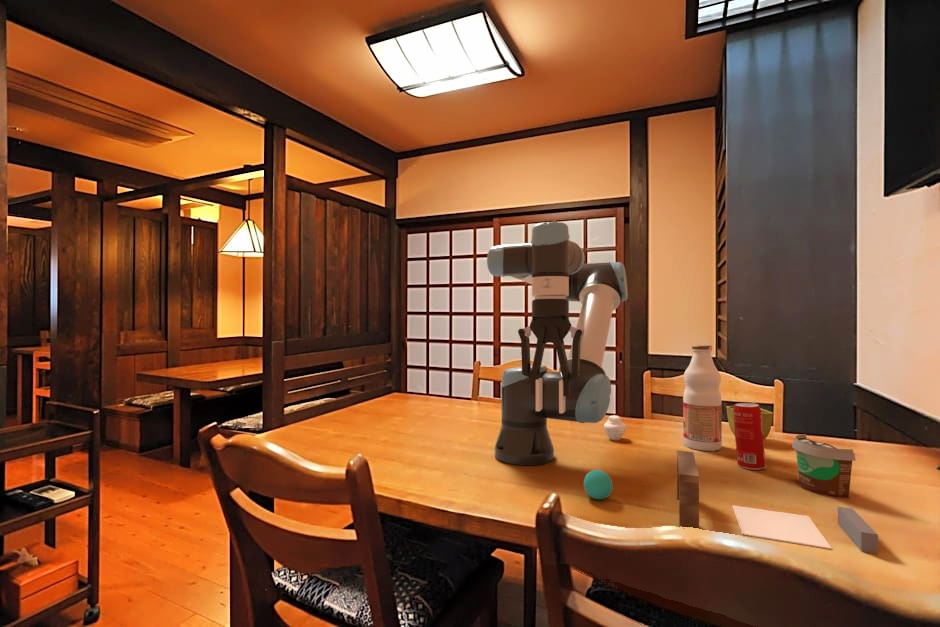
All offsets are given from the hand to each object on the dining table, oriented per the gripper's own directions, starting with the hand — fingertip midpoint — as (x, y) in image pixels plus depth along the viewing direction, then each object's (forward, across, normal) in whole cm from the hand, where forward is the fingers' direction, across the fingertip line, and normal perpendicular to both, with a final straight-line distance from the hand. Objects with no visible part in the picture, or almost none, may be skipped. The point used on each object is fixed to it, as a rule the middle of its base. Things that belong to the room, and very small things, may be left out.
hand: (550, 410), depth 94 cm
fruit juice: (+17, +32, +47) cm, 59 cm away
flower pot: (+17, +44, +59) cm, 76 cm away
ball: (+14, +10, 0) cm, 17 cm away
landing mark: (+17, +40, 0) cm, 43 cm away
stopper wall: (+17, +50, 0) cm, 53 cm away
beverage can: (+17, +40, +33) cm, 55 cm away
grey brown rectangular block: (+17, +26, 0) cm, 30 cm away
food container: (+17, +50, +22) cm, 58 cm away
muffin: (+17, +8, +46) cm, 50 cm away
